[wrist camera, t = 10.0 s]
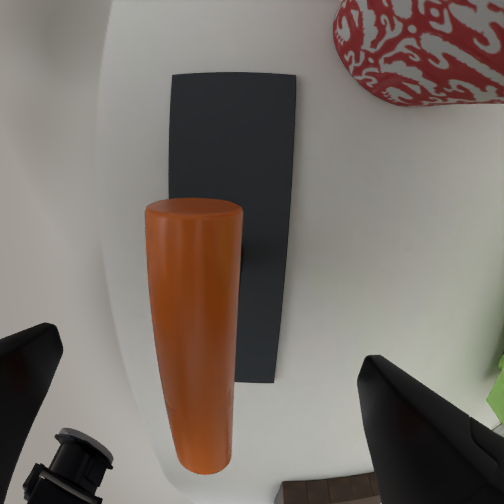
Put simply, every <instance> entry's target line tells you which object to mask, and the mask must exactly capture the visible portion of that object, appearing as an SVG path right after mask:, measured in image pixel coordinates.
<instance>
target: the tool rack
mask: <svg viewBox="0 0 504 504" xmlns="http://www.w3.org/2000/svg"><path fill="white" fill-rule="evenodd" d="M380 503H381V498H380V494H379V489H378V485H377V480H376V476H375V472H373V473H368V474H362V475H355V476H349V477H341V478H333V479H325V480H313V481H295V482H282V484H281V487H280V489H279V492H278V494H277V496H276V499H275V501H274V504H380Z"/></svg>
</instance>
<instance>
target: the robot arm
mask: <svg viewBox="0 0 504 504" xmlns="http://www.w3.org/2000/svg"><path fill="white" fill-rule="evenodd" d="M62 354H63V345H62V342H61V339H60V335H59V332H58V329H57V327H56V326H55V325H54V324H50V323H42V324H39V325H36V326H34V327H31V328H28V329H26V330H23V331H20V332H18V333H15V334H13V335H10V336H7V337H5V338H2V339H0V504H4V501H5V498H6V494H7V490H8V487H9V484H10V481H11V478H12V475H13V472H14V469H15V466H16V463H17V461H18V458H19V456H20V453H21V451H22V448H23V446H24V443H25V441H26V438H27V436H28V433H29V431H30V429H31V426H32V424H33V422H34V420H35V417H36V415H37V413H38V411H39V409H40V407H41V405H42V402H43V400H44V398H45V396H46V394H47V392H48V389H49V387H50V384H51V382H52V379H53V376H54V374H55V371H56V369H57V366H58V364H59V361H60V359H61V357H62ZM357 386H358V393H359V399H360V406H361V412H362V420H363V426H364V431H365V435H366V439H367V443H368V447H369V451H370V455H371V459H372V463H373V467H374V472H375V476H376V480H377V485H378V489H379V494H380V498H381V503H382V504H504V437H503V436H501V435H499V434H497V433H495V432H494V431H492V430H490V429H489V428H487V427H486V426H484V425H483V424H481V423H479V422H478V421H476V420H475V419H474V418H472V417H469V415H468V414H466V413H465V412H463V411H462V410H460V409H459V408H457V407H456V406H454V405H453V404H451V403H450V402H448V401H447V400H445V399H444V398H442V397H441V396H440V395H438V394H437V393H435V392H434V391H432V390H431V389H429V388H428V387H426V386H425V385H423V384H422V383H420V382H419V381H418V380H416V379H415V378H413V377H412V376H410V375H409V374H407V373H406V372H405V371H403V370H402V369H400V368H399V367H397V366H396V365H394V364H393V363H391V362H390V361H389V360H387V359H386V358H384V357H383V356H381V355H368V356H366V357H365V359H364V362H363V364H362V367H361V370H360V373H359V375H358V379H357ZM55 438H56V439H57V440H58V441H59V443H60V444H61V445H60V447H59V449H58V451H57V453H56V454H55V456H54V459H53V460H52V463H51V464H50V466H49V468H47V467H45V466H44V465H43V464H42V463H41V464H40V465H39V464H37V463H36V464H35V465H34V467H33V469H32V471H31V473H30V475H29V476H28V478H27V479H26V481H25V482H24V484H23V489H24V491H25V492H24V494H25V495H24V499H25V500H27V501H28V503H27V504H101V503H102V500H103V499H102V498H100V497H97V496H95V492H96V489H97V487H99V486H100V484H101V482H102V479H103V476H104V473H105V471H106V469H110V470H112V469H113V466H112V465H111V464H110V463H109V462H108V461H107V460H106V459H105V458H104V457H103V456H102V455H101V454H100V453H99V452H98V451H97V450H96V449H95V448H94V447H93V446H92V445H91V444H90V443H89V442H88V441H86V440H81V439H76V438H71V437H66V436H62V435H57V434H56V435H55ZM41 476H43V477H44V478H45V479H43V478H41Z"/></svg>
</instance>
